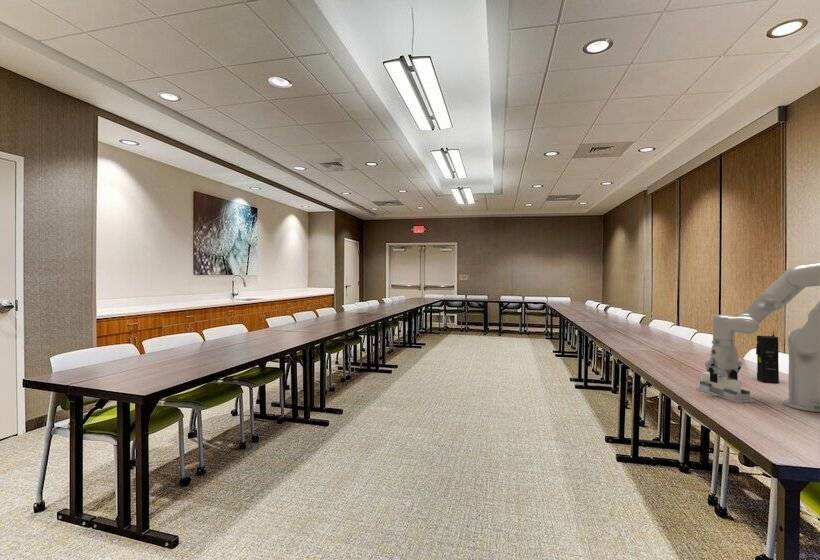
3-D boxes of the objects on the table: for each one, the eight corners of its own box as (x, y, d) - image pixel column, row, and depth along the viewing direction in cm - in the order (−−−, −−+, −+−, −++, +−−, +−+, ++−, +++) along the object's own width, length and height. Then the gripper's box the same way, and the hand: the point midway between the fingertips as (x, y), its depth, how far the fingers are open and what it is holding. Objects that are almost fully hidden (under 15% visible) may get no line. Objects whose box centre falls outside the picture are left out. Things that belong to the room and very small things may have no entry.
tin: (734, 384, 189) (734, 367, 189) (728, 384, 189) (728, 367, 189) (711, 376, 204) (711, 360, 204) (705, 376, 204) (705, 360, 204)
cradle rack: (754, 402, 163) (754, 392, 163) (736, 403, 162) (736, 393, 162) (711, 388, 183) (711, 379, 183) (696, 389, 182) (696, 380, 182)
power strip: (740, 393, 166) (741, 380, 166) (733, 393, 165) (733, 381, 165) (708, 382, 182) (708, 371, 182) (701, 383, 181) (701, 371, 181)
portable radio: (760, 382, 192) (760, 332, 192) (753, 379, 198) (753, 330, 198) (780, 383, 190) (780, 332, 190) (772, 380, 196) (772, 330, 195)
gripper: (713, 345, 167) (713, 384, 167) (749, 343, 169) (749, 383, 169) (698, 342, 175) (698, 380, 175) (733, 341, 177) (733, 378, 177)
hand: (723, 381), depth 172 cm, fingers open, 9 cm apart
